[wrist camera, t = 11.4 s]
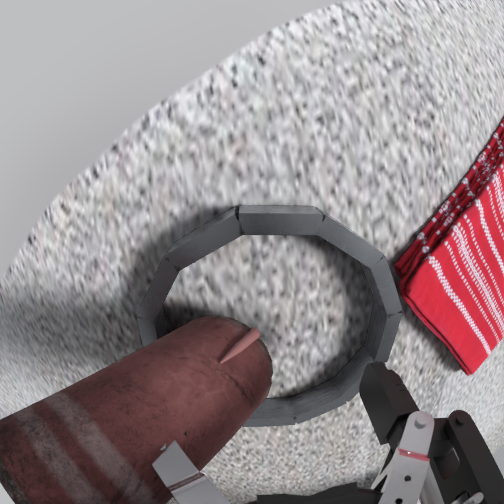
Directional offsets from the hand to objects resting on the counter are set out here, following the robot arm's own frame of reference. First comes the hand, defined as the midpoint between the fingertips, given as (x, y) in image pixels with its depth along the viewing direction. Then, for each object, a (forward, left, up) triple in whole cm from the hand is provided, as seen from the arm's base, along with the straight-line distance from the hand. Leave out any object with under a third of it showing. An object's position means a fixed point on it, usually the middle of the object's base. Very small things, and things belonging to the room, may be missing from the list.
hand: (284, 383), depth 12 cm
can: (+10, 0, +8) cm, 13 cm away
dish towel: (-21, -6, -6) cm, 22 cm away
